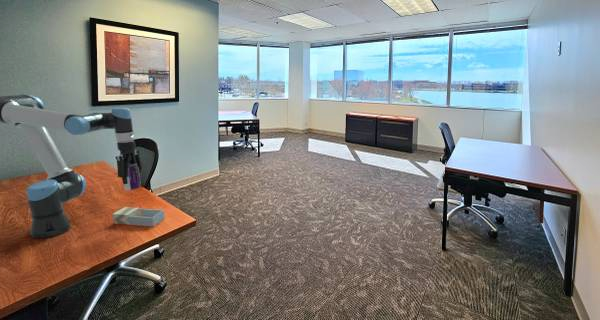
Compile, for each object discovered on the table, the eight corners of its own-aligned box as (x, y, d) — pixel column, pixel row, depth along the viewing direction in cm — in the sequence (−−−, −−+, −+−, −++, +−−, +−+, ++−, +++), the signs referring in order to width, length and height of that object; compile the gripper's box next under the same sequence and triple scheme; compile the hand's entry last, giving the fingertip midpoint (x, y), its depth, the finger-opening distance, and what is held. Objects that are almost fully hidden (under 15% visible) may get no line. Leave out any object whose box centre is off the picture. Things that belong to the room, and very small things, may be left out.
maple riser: (114, 223, 160) (112, 213, 159) (126, 215, 169) (125, 206, 167) (128, 224, 159) (127, 214, 158) (140, 216, 167) (139, 207, 166)
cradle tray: (129, 224, 159) (128, 216, 157) (141, 216, 168) (140, 208, 167) (153, 226, 156) (152, 217, 155) (164, 218, 166) (164, 210, 165)
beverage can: (143, 187, 159) (140, 164, 156) (128, 191, 154) (124, 167, 151) (137, 185, 164) (134, 162, 161) (122, 188, 159) (119, 164, 156)
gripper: (118, 145, 143) (126, 194, 149) (146, 137, 162) (152, 181, 168) (103, 145, 144) (111, 194, 150) (132, 137, 163) (139, 180, 169)
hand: (133, 187), depth 159 cm, fingers closed on beverage can, 7 cm apart
